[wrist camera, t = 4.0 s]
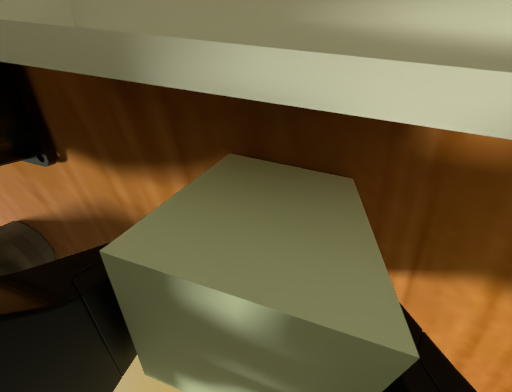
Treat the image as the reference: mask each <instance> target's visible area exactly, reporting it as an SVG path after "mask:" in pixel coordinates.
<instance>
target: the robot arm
mask: <svg viewBox="0 0 512 392" xmlns="http://www.w3.org/2000/svg"><path fill="white" fill-rule="evenodd" d="M18 161H25V162H29V163H33V164H37V165H40V166H50V165H53V164H55V163H56V157H55V155H54V152H53V150H52V147H51V145H50V142H49V139H48V137H47V134H46V132H45V129H44V127H43V124H42V122H41V119H40V117H39V114H38V112H37V109H36V106H35V104H34V101H33V99H32V96H31V94H30V91H29V89H28V86H27V84H26V81H25V79H24V76H23V73H22V71H21V68H20V66H19V64H13V63H7V62H0V166H2V165H6V164H10V163H14V162H18ZM109 243H111V242H109ZM109 243H107V244H104V245H101V246H98V247H95V248H92V249H89V250H86V251H83V252H80V253H77V254H74V255H71V256H67V257H64V258H61V259H58V260H54V261H51V262H48V263H45V264H41V265H38V266H35V267H32V268H28V269H25V270H22V271H19V272H15V273H11V274H7V275H2V276H0V392H113V391H114V389H115V388H116V386H117V385H118V383H119V381H120V380H121V378H122V376H123V375H124V373H125V372H126V370H127V369H128V368H129V366H130V364H131V363H132V361H133V360H134V358H135V357H136V355H137V352H136V349H135V346H134V344H133V341H132V338H131V336H130V333H129V330H128V327H127V325H126V322H125V319H124V317H123V314H122V311H121V309H120V306H119V303H118V300H117V298H116V295H115V292H114V290H113V287H112V284H111V282H110V279H109V276H108V273H107V271H106V268H105V265H104V263H103V260H102V257H101V255H100V252H99V251H100V250H101V249H103V248H104V247H105V246H107V245H108V244H109ZM399 304H400V302H399ZM400 306H401V309H402V312H403V314H404V317H405V320H406V322H407V325H408V328H409V330H410V333H411V336H412V339H413V341H414V344H415V347H416V349H417V352H418V355H419V357H420V358H419V359H418V360H417V361H416V362H415V363H414V364H412V365H411V366H410V367H409V368H408V369H407V370H406V371H405V372H404V373H402V374H401V375H400V376H399V377H398V378H397V379H396V380H395V381H393V382H392V383H391V384H390V385H389V386H388V387H387V388H386V389H385V390H383V391H382V392H477V391H476V390H475V389H474V388H473V387H472V386H471V385H470V383H469V382H468V381H467V380H466V379H465V378H464V377H463V376H462V375H461V374H460V373H459V371H458V370H457V369H456V368H455V367H454V366H453V365H452V364H451V362H450V361H449V360H448V359H447V358H446V357H445V355H444V354H443V353H442V352H441V351H440V350H439V349H438V347H437V346H436V345H435V344H434V343H433V341H432V340H431V339H430V338H429V337H428V336H427V334H426V333H425V332H422V329H421V327H420V326H419V325H418V324H417V323H416V321H415V320H414V319H413V318H412V317H411V315H410V314H409V313H408V312H407V311H406V309H405V308H404V307H403V306H402V305H401V304H400Z"/></svg>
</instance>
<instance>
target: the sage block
mask: <svg viewBox="0 0 512 392" xmlns="http://www.w3.org/2000/svg"><path fill="white" fill-rule="evenodd" d="M99 252H100V255H101V257H102V260H103V263H104V265H105V268H106V271H107V273H108V276H109V279H110V282H111V284H112V287H113V290H114V292H115V295H116V298H117V300H118V303H119V306H120V309H121V311H122V314H123V317H124V319H125V322H126V325H127V327H128V330H129V333H130V336H131V338H132V341H133V344H134V346H135V349H136V352H137V354H138V357H139V360H140V362H141V365H142V368H143V371H144V373H145V375H147V376H149V377H152V378H154V379H156V380H158V381H161V382H163V383H165V384H168V385H170V386H172V387H174V388H177V389H179V390H181V391H183V392H382V391H383V390H385V389H386V388H387V387H388V386H389V385H390V384H391V383H392V382H393V381H395V380H396V379H397V378H398V377H399V376H400V375H401V374H402V373H404V372H405V371H406V370H407V369H408V368H409V367H410V366H411V365H412V364H414V363H415V362H416V361H417V360H418V359H419V358H420V357H419V355H418V352H417V349H416V347H415V344H414V341H413V339H412V336H411V333H410V330H409V328H408V325H407V322H406V320H405V317H404V314H403V312H402V309H401V306H400V304H399V301H398V298H397V296H396V293H395V290H394V287H393V285H392V282H391V279H390V277H389V274H388V271H387V269H386V266H385V263H384V261H383V258H382V255H381V253H380V250H379V247H378V245H377V242H376V239H375V236H374V234H373V231H372V228H371V226H370V223H369V220H368V218H367V215H366V212H365V210H364V207H363V204H362V202H361V199H360V196H359V194H358V191H357V188H356V185H355V183H354V180H353V179H352V178H347V177H342V176H338V175H333V174H328V173H323V172H318V171H313V170H308V169H303V168H299V167H294V166H289V165H284V164H279V163H274V162H269V161H265V160H260V159H255V158H250V157H245V156H240V155H235V154H230V153H229V154H228V155H227V156H225V157H224V158H223V159H221V160H220V161H219V162H217V163H216V164H215V165H213V166H212V167H211V168H209V169H208V170H207V171H205V172H204V173H203V174H201V175H200V176H199V177H197V178H196V179H195V180H193V181H192V182H191V183H189V184H188V185H187V186H185V187H184V188H183V189H181V190H180V191H179V192H177V193H176V194H175V195H173V196H172V197H171V198H169V199H168V200H167V201H165V202H164V203H163V204H161V205H160V206H159V207H157V208H156V209H155V210H153V211H152V212H151V213H149V214H148V215H147V216H145V217H144V218H143V219H141V220H140V221H139V222H137V223H136V224H135V225H133V226H132V227H131V228H129V229H128V230H127V231H125V232H124V233H123V234H121V235H120V236H119V237H117V238H116V239H115V240H113V241H112V242H111V243H109V244H108V245H107V246H105V247H104V248H103V249H101V250H100V251H99Z"/></svg>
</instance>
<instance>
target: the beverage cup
mask: <svg viewBox="0 0 512 392" xmlns="http://www.w3.org/2000/svg"><path fill="white" fill-rule="evenodd" d="M54 260H55V255H54V252H53V250H52V248H51V247H50V245H49V244H48V243H47V241H46V240H45V239H44V238H43V237H42V236H41V235H40V234H38V233H37V232H36V231H34V230H33V229H32V228H30V227H28V226H27V225H25V224H23V223H20V222H14V221H12V222H10V223H8V224H5V225H3V226H0V276H2V275H7V274H11V273H15V272H19V271H22V270H25V269H28V268H32V267H35V266H38V265H41V264H45V263H48V262H51V261H54Z"/></svg>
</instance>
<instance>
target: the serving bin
mask: <svg viewBox="0 0 512 392" xmlns="http://www.w3.org/2000/svg"><path fill="white" fill-rule="evenodd" d="M0 62H7V63H13V64H20V65H26V66H33V67H39V68H46V69H52V70H59V71H65V72H72V73H78V74H85V75H92V76H98V77H105V78H111V79H118V80H124V81H131V82H137V83H144V84H150V85H157V86H163V87H170V88H177V89H183V90H190V91H196V92H203V93H209V94H216V95H222V96H229V97H235V98H242V99H248V100H255V101H262V102H268V103H275V104H281V105H288V106H294V107H301V108H307V109H314V110H320V111H327V112H333V113H340V114H347V115H353V116H360V117H366V118H373V119H379V120H386V121H392V122H399V123H405V124H412V125H418V126H425V127H432V128H438V129H445V130H451V131H458V132H464V133H471V134H477V135H484V136H490V137H497V138H503V139H510V140H512V0H0Z"/></svg>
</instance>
